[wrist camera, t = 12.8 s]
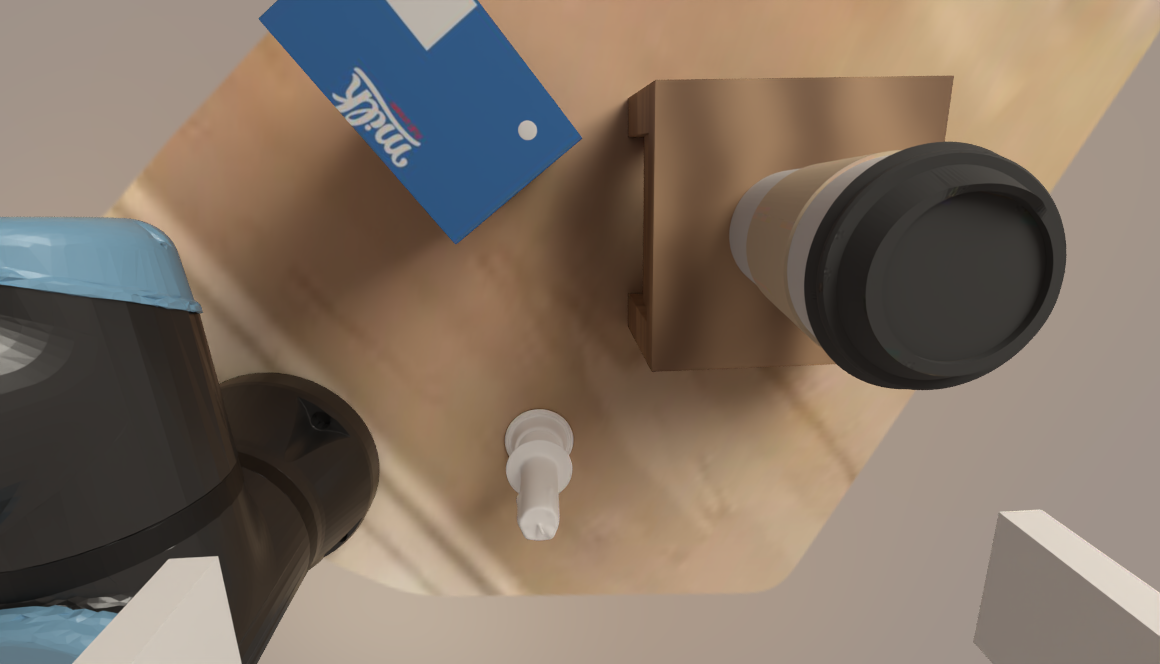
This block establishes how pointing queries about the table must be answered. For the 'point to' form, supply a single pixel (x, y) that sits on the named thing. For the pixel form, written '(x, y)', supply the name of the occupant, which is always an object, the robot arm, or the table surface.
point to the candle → (538, 469)
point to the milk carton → (430, 97)
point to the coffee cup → (907, 260)
